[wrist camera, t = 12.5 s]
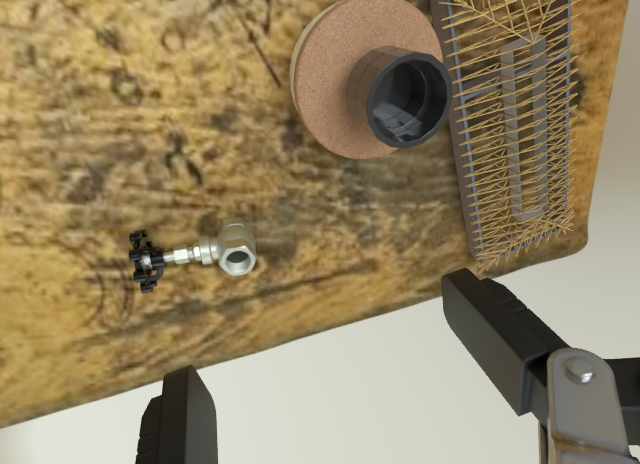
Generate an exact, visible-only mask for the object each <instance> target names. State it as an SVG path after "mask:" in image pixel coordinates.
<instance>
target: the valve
mask: <svg viewBox="0 0 640 464" xmlns="http://www.w3.org/2000/svg"><path fill="white" fill-rule="evenodd" d="M143 237H147V232H146V230H145V229H144V230H138V231H135V233H130V235H129V238H130V242H131V244H133V250H130V251H129V259H130V261H131V262H134V264H135V271H134V273H133V277H134V281H135V282H136V283H138V282H141V283H140V289H141V292H142V293H147V292H152V291H153V287H155V286H157V280H158V279H159V278H160V277H161V276H162V274H163V267H166V266H167V262H168V261H173V260H175V262H176V263H177V264H181V263H187V262H190V258H195V259H196V260H197V261H198V260H202V263H203V264H204V265H205V264H210V263H213V260H215V259H219V265H220V266H221V267H222V268H223V269H224V270H225V271H226V272H227V273H228V274H229V275H231V276H236V275H242V274H246V273H249V272H250V271H251V270H252V268H253V266H254V264H255V261H256V259H257V255H256V251H255V248H256V242H255V238H254V236H253V234H252V232H251V228H250V226H249V225H248V224H247V223H246V222H245V221H244V220H243V219H242V218H241V217H231V218H226V219H223V220H222V222H221V225H220V227H219V230H218V232H217V237H215V238H209V236H202V237H199V238H198V242H197V243H194V244H193V247H188V246H187V244H185V245H179V246H174V248H173V251H170V252H165V250H164V248H160V247H156V246H154V247H153V244H152V242H151V241H149V242H145V240H143ZM153 270H157V274H156V275H154V276H152V271H153Z"/></svg>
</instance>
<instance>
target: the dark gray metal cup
mask: <svg viewBox="0 0 640 464" xmlns="http://www.w3.org/2000/svg"><path fill="white" fill-rule="evenodd" d="M345 95H346V100H347V106H348V110H349V112H350V114H351V115H352V117H353V118H354V120H355V121H356V122H357V123H358V124H359V125H360V126H362V127H363V128H364V129H365V130H367V131H368V132H369V133H370V134H372V135H373V136H374V137H375V138H377V139H378V140H380V141H381V142H383V143H385V144H386V145H388V146H389V147H393V148H404V149H406V148H410V147H414V146H417V145H420V144H422V143H424V142H425V141H427V140H428V139H429V138H431V137H432V136H433V135H435V134H436V133H437V132H438V130H439V129H440V127H441V126H442V125H443V123H444V122H445V120H446V119H447V117H448V114H449V111H450V107H451V104H452V101H453V87H452V79H451V77H450V75H449V73H448V71H447V68H446V66H445V65H444V64H443V63H442V62H440V61H439V60H438V59H437V58H436V57H434V56H433V55H431V54H427V53H423V52H418V51H414V50H409V49H405V48H400V47H395V46H389V45H388V46H387V45H386V46H383V47H379V48H376V49H372V50H370V51H369V52H368V53H367V54H366V55H364V56H363V57H362V58H361V59H359V60H358V62H357V63H356V65H355V67H354V68H353V70H352V72H351V73H350V75H349V78H348V83H347V88H346V94H345Z"/></svg>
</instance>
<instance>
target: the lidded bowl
mask: <svg viewBox="0 0 640 464" xmlns="http://www.w3.org/2000/svg"><path fill="white" fill-rule="evenodd" d="M386 45H387V46H388V45H389V46H395V47H400V48H405V49H409V50H414V51H418V52H423V53H427V54H431V55H433V56H434V57H436V58H437V59H438V60H439V61H440V62H442V63H443V59H442V52H441V47H440V43H439V40H438V38H437V35H436V32H435V31H434V29H433V27H432V25H431V23H430V22H429V21H428V19H427V18H426V17H425V16H424V14H423V13H422V12H421V11H420V10H418V9H417V8H416V7H415V6H414V5H412V4H410V3H409V2H407V1H405V0H343V1H340V2H338V3H336V4H333V5H331V6H329V7H328V8H326V9H325V10H323V11H322V12H320V13H319V14H318V15H316V16H315V17H314V18H313V19H312V20H311V22H310V23H309V24H308V25H307V26H306V28H305V29H304V30H303V32H302V33H301V35H300V37H299V39H298V41H297V43H296V45H295V48H294V51H293V54H292V58H291V63H290V74H289V80H290V89H291V94H292V97H293V101H294V104H295V107H296V109H297V111H298V114H299V115H300V117H301V119H302V121H303V123H304V125H305V126H306V128H307V129H308V131H309V132H310V134H311V135H312V136H313V137H314V138H315V139H316V140H317V141H318V142H319V143H320V144H321V145H322V146H324V147H325V148H326V149H328V150H330V151H331V152H333V153H335V154H337V155H340V156H343V157H346V158H353V159H370V158H376V157H380V156H383V155H386V154H389V153H391V152H393V151H395V150H397V149H398V148H393V147H389V146H388V145H386V144H385V143H383V142H381V141H380V140H378V139H377V138H375V137H374V136H373V135H372V134H370V133H369V132H368V131H367V130H365V129H364V128H363V127H362V126H360V125H359V124H358V123H357V122H356V121H355V120H354V118H353V117H352V115H351V114H350V112H349V110H348V106H347V100H346V95H345V94H346V88H347V83H348V78H349V75H350V73H351V72H352V70H353V68H354V67H355V65H356V63H357V62H358V60H359V59H361V58H362V57H363V56H364V55H366V54H367V53H368V52H369V51H370V50H372V49H376V48H379V47H383V46H386Z"/></svg>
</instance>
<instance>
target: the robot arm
mask: <svg viewBox="0 0 640 464" xmlns="http://www.w3.org/2000/svg"><path fill="white" fill-rule="evenodd" d="M441 282H442V296H443V310H444V314H445V317H446V320H447V322H448V324H449V326H450V328H451V329H452V330H453V332H454V333H455V334H456V336H457V337H458V338H459V340H461V342H462V343H463V345H464V346H465V347H466V349H467V350H468V351H469V353H470V354H471V355H472V356H473V358H474V359H475V360H476V362H477V363H478V364H479V365H480V367H481V368H482V369H483V371H484V372H485V373H486V375H487V376H488V377H489V378H490V380H491V381H492V383H493V384H494V385H495V386H496V388H497V389H498V390H499V392H500V393H501V394H502V396H503V397H504V398H505V399H506V401H507V402H508V403H509V405H510V406H511V407H512V409H513V410H514V411H515V412H516V414H517V415H518V416H521V415H523V414H526V413H529V412H532V413H533V414H534V416H535V417H536V418H537V419H538V421H539V423H538V434H539V464H640V462H639V460H638V459H637V458H636V457H632V455H631V453H630V451H629V447H628V445H639V446H640V357H638V358H623V359H602V358H600V357H599V356H597V355H595V354H594V353H591V352H589V351H586V350H583V349H578V348H572V347H570V346H569V345H568V344H566V343H565V342H564V341H563V340H562V339H561V338H560V337H559V336H558V335H557V334H556V333H555V332H554V331H552V330H551V329H550V328H549V327H548V326H547V325H546V324H545V323H544V322H543V321H542V320H541V319H540V318H539V317H537V316H536V315H535V314H534V313H533V312H532V311H531V310H530V309H527V307H526V305H525V304H523V303H522V302H521V301H520V300H519V299H517V298H516V296H515V295H514V294H513V293H512V292H511V291H510V290H508V289H507V288H506V287H505V286H504V285H502V284H500V283H498V282H495V281H494V280H491V279H489V278H485V279H482V280H479V279H478V278H477V277H476V276H475V275H474V274H473V273H472V272H471V271H470V270H469V269H467V268H463V269H460V270H457V271H454V272H452V273H449V274H446V275H443V276H442V279H441ZM216 422H217V421H216V410H215V405H214V402H213V399H212V396H211V394H210V393H209V391H208V390H207V388H206V386H205V384H204V383H203V381H202V380H201V378H200V376H199V375H198V373H197V371H196V370H195V368H194V367H193V366H192V365H189V366H186V367H184V368H181V369H178V370H175V371H173V372H170V373H167V374H165V376H164V379H163V389H162V395H160V396H158V397H155V398H152V399H151V400H150V403H149V405H148V406H147V408H146V410H145V412H144V414H143V416H142V420H141V427H140V434H139V436H140V439H139V441H138V448H137V452H138V455H136V462H135V464H218V448H217V423H216Z"/></svg>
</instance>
